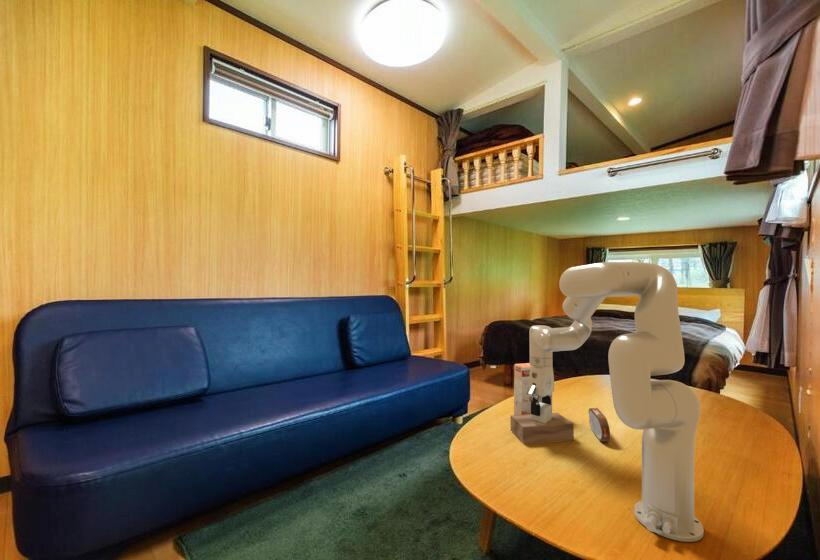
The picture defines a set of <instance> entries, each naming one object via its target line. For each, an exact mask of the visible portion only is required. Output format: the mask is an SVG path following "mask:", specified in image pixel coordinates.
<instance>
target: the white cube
mask: <svg viewBox="0 0 820 560" xmlns="http://www.w3.org/2000/svg"><path fill="white" fill-rule="evenodd" d="M539 404H540V416H536V415H532V414H531V420H535V421H538V422H541V423H547V422H548V421H550V420H552V413H553V412H552V413H551V405H549V404H545V403H541V402H539Z"/></svg>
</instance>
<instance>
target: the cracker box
mask: <svg viewBox="0 0 820 560" xmlns="http://www.w3.org/2000/svg"><path fill="white" fill-rule="evenodd" d="M513 365H514V367H513V368H514V370H513V371H514V372H513V373H514V376H513V377H514V381H513V382H514V383H513V386H514V387H513V415H527V414H531V403H530V400H529V396H528V393H529V376H530V367H531V366H530V362H526V363H515V364H513ZM552 367H553V366H552ZM553 368H554V367H553ZM535 394H537V395H538V393H535ZM551 395H552V397H551V398H550V399H551V413H553V393H551ZM534 397H535V396H534ZM535 398H536V400H537V397H535ZM540 402H541V403H542V397H541V398H540Z"/></svg>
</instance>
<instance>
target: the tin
mask: <svg viewBox="0 0 820 560" xmlns="http://www.w3.org/2000/svg"><path fill="white" fill-rule="evenodd" d="M588 418H589V420H588V422H589V426H590V429H591V431H592V432H593V434H594V435H595V437H596V438H597V439H598V441H599V442H607V443H609V442H610V441H611V430H610V425H609V422H608V420H607V419H608V418H607V417H606V416H605V414H604V413H603V412H602V411H601V410H600V409H599V407H591V408H589V409H588Z"/></svg>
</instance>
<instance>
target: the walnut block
mask: <svg viewBox="0 0 820 560" xmlns="http://www.w3.org/2000/svg"><path fill="white" fill-rule="evenodd" d="M574 426H575V425H574V423H573V422H572V421H571V420H569V419H567V418H566V417H565V416H563V415H562V414H560V413H559V412H552V420H550V421H548V422H547V423H541V422H538V421H535V420H531V414H527V415H514V414H513V415H510V432H511V431H512V432H511V433H512V434H513V435H514V436H515V437H516V438H517V439H518V440H519V441H520V443H522V444H523V445H526V444H527V445H528V444H529V443H530V444H542V443H555V442H557V443H558V442H559V443H560V442H570V441H571V442H572V441H573V440H574V441H575V439H574V437H575V434H574V433H575V432H574V431H575V429H574Z"/></svg>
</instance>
